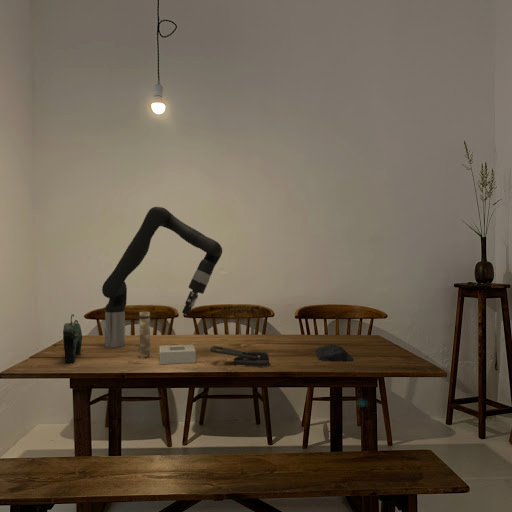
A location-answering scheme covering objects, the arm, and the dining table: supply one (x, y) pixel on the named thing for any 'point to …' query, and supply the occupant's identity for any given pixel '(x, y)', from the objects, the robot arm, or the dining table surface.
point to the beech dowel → (144, 334)
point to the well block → (177, 354)
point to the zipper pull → (244, 356)
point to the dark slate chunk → (332, 353)
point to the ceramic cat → (72, 340)
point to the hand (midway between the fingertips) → (185, 313)
